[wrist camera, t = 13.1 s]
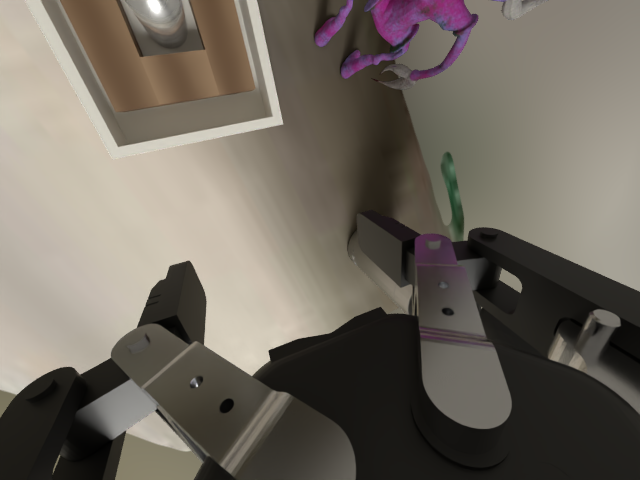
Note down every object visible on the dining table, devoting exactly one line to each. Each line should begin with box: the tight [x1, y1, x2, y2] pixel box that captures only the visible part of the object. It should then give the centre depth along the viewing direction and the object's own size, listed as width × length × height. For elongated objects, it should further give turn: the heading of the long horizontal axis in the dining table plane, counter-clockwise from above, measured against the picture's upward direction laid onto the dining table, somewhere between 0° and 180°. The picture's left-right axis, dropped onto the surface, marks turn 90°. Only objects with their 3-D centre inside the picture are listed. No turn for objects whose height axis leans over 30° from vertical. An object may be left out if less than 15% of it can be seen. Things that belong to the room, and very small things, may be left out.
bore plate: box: [60, 0, 256, 112], centre depth 24 cm, size 14×14×3 cm
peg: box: [125, 0, 188, 49], centre depth 22 cm, size 4×4×10 cm
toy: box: [315, 0, 548, 90], centre depth 23 cm, size 16×7×24 cm, turn 48°
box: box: [24, 0, 283, 160], centre depth 24 cm, size 18×22×5 cm
